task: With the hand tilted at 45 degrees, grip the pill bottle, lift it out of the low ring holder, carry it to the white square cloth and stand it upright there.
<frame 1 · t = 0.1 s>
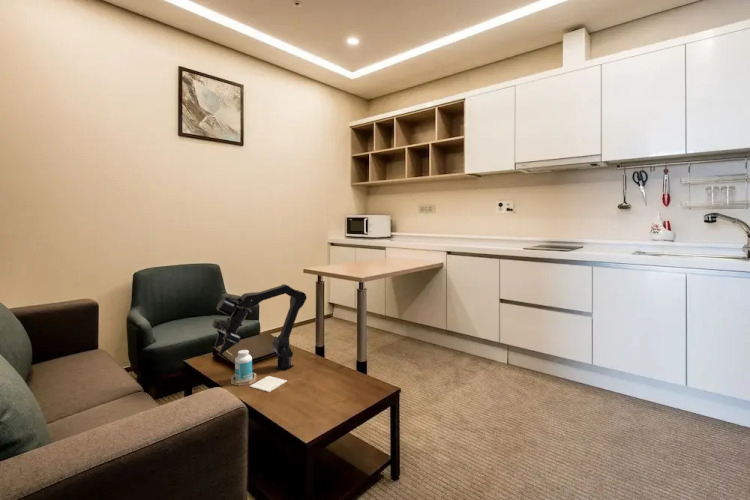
hand: (217, 350, 167), 15 cm above the table, tool tilted 35°, fingers open, 9 cm apart
white square cloth: (268, 384, 167), on the table
ring holder: (243, 379, 171), on the table
pill bottle: (243, 380, 171), resting in ring holder
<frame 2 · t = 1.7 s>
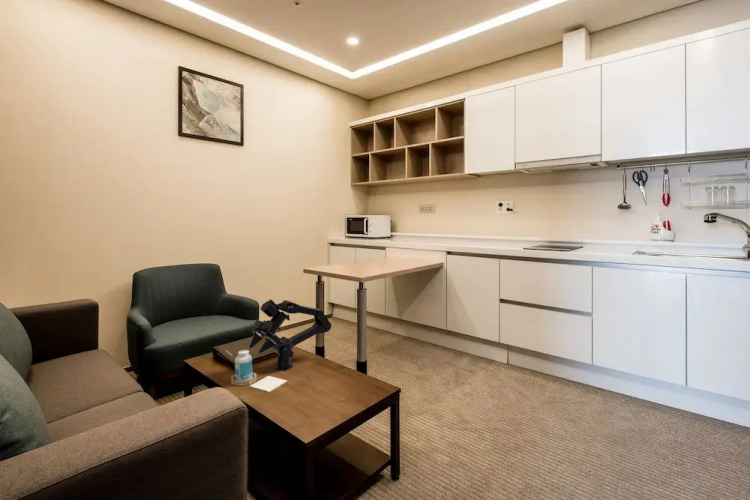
hand: (254, 350, 174), 13 cm above the table, tool tilted 45°, fingers open, 9 cm apart
nothing on the table moved.
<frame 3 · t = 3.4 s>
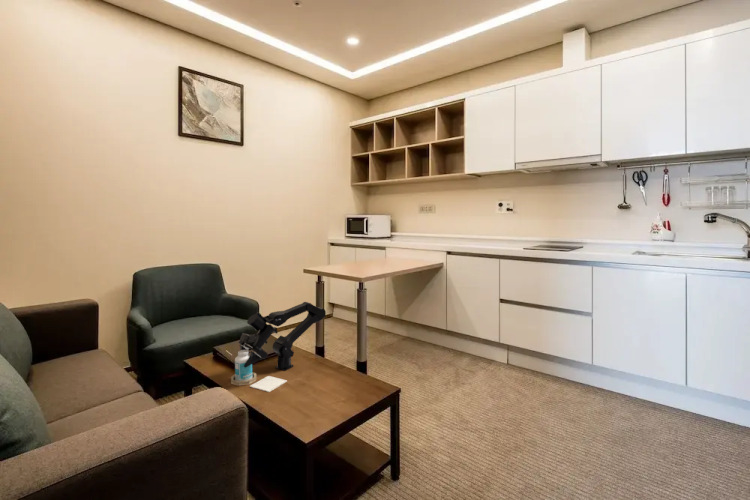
hand: (240, 364, 169), 8 cm above the table, tool tilted 45°, fingers closed on pill bottle, 7 cm apart
pill bottle: (243, 380, 171), resting in ring holder, touching gripper
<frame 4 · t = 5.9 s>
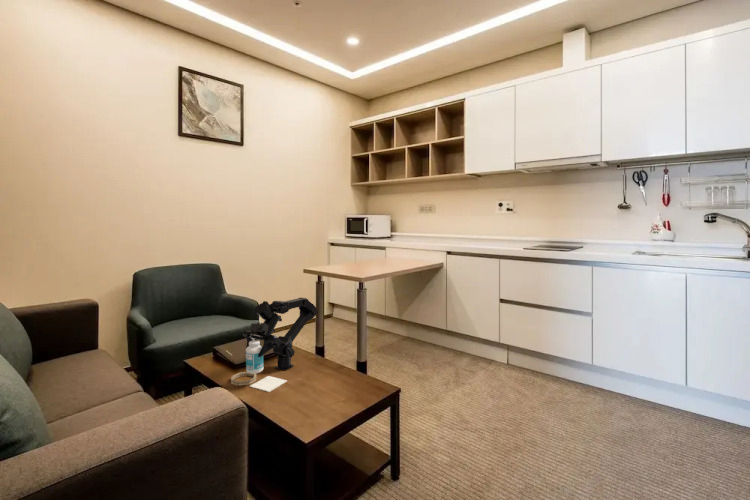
hand: (252, 355, 166), 13 cm above the table, tool tilted 45°, fingers closed on pill bottle, 7 cm apart
pill bottle: (254, 371, 168), point 5 cm above the table, touching gripper
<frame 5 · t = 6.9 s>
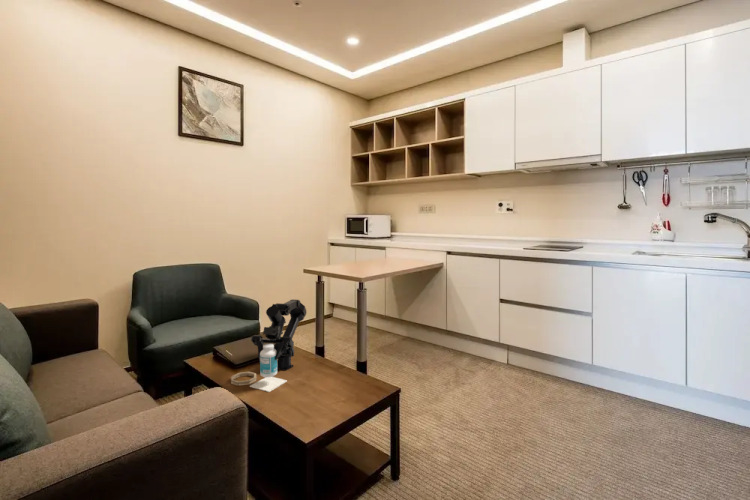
hand: (267, 359, 165), 12 cm above the table, tool tilted 45°, fingers closed on pill bottle, 7 cm apart
pill bottle: (268, 374, 167), point 4 cm above the table, touching gripper
when the fingers open (9 cm above the table, at t = 8.0 s): pill bottle drops 1 cm, resting on white square cloth.
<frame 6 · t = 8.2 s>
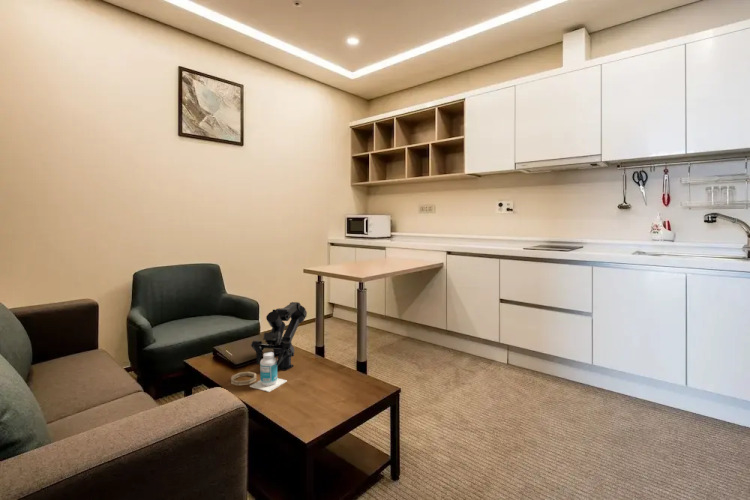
hand: (267, 364, 165), 10 cm above the table, tool tilted 45°, fingers open, 9 cm apart
pill bottle: (268, 383, 167), resting on white square cloth
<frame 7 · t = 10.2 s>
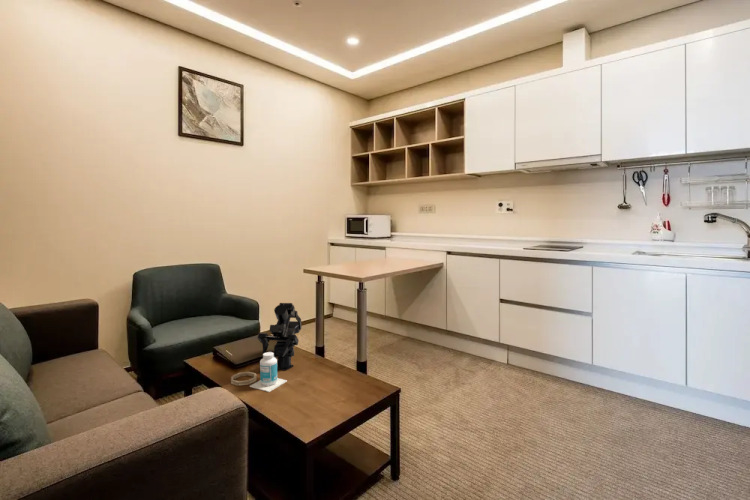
hand: (273, 355, 171), 11 cm above the table, tool tilted 45°, fingers open, 9 cm apart
nothing on the table moved.
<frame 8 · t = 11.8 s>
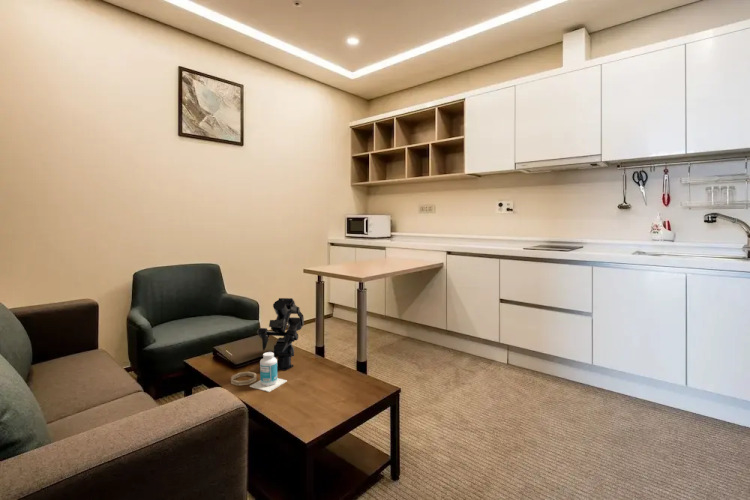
hand: (272, 350, 171), 14 cm above the table, tool tilted 45°, fingers open, 9 cm apart
nothing on the table moved.
at the end: pill bottle inside the target area on the white square cloth (0.2 cm from its centre), point 0.2 cm above the white square cloth's base; pill bottle tilted 0°; the gripper is holding nothing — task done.
